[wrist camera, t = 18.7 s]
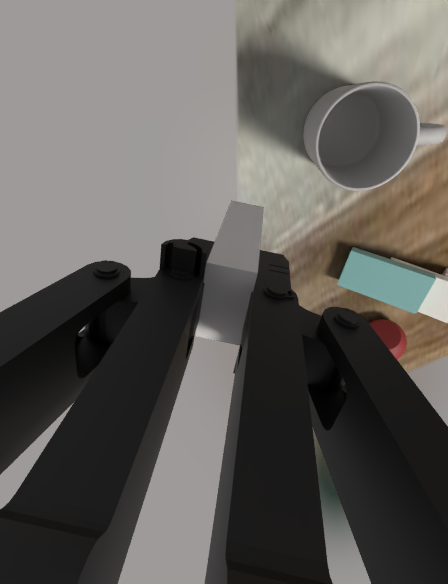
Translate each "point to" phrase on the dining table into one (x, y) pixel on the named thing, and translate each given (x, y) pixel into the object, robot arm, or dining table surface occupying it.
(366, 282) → the domino
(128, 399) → the robot arm
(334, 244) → the dining table surface
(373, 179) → the mug
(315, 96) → the dining table surface
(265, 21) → the dining table surface
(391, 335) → the fruit
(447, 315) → the domino
